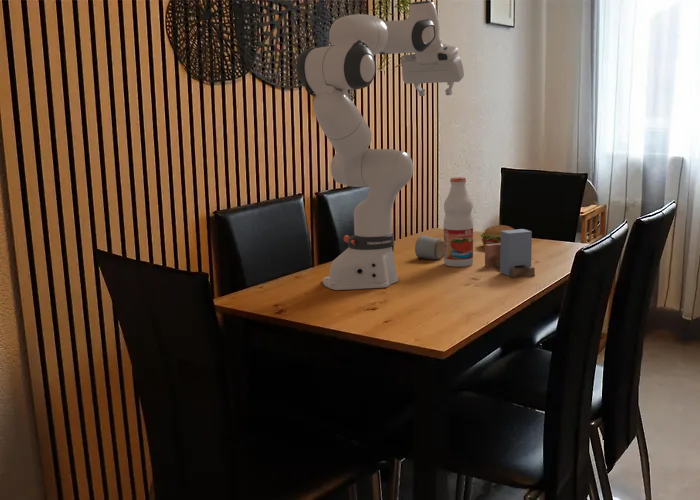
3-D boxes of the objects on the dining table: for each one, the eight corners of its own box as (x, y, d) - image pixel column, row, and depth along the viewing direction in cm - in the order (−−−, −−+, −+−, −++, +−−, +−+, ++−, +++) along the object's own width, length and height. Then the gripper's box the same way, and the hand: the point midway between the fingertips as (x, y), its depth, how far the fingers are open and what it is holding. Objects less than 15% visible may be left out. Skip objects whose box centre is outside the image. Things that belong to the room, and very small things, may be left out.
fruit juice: (461, 259, 234) (461, 175, 229) (479, 264, 226) (479, 177, 220) (438, 263, 230) (437, 178, 224) (455, 268, 222) (454, 180, 216)
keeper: (508, 275, 209) (508, 233, 207) (500, 272, 214) (500, 230, 211) (531, 273, 211) (531, 231, 209) (522, 269, 216) (523, 228, 213)
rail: (513, 278, 207) (513, 254, 206) (484, 265, 224) (485, 244, 223) (534, 275, 209) (534, 252, 207) (504, 263, 226) (504, 242, 225)
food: (478, 251, 248) (478, 228, 246) (482, 243, 261) (482, 222, 260) (518, 252, 244) (518, 229, 242) (520, 244, 257) (520, 222, 256)
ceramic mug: (436, 261, 233) (436, 239, 231) (414, 259, 237) (414, 237, 236) (450, 256, 241) (450, 234, 240) (429, 254, 246) (429, 232, 244)
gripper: (395, 58, 224) (402, 99, 231) (455, 54, 213) (461, 98, 220) (403, 51, 228) (410, 92, 235) (462, 47, 218) (468, 90, 224)
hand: (435, 95), depth 227 cm, fingers open, 8 cm apart
